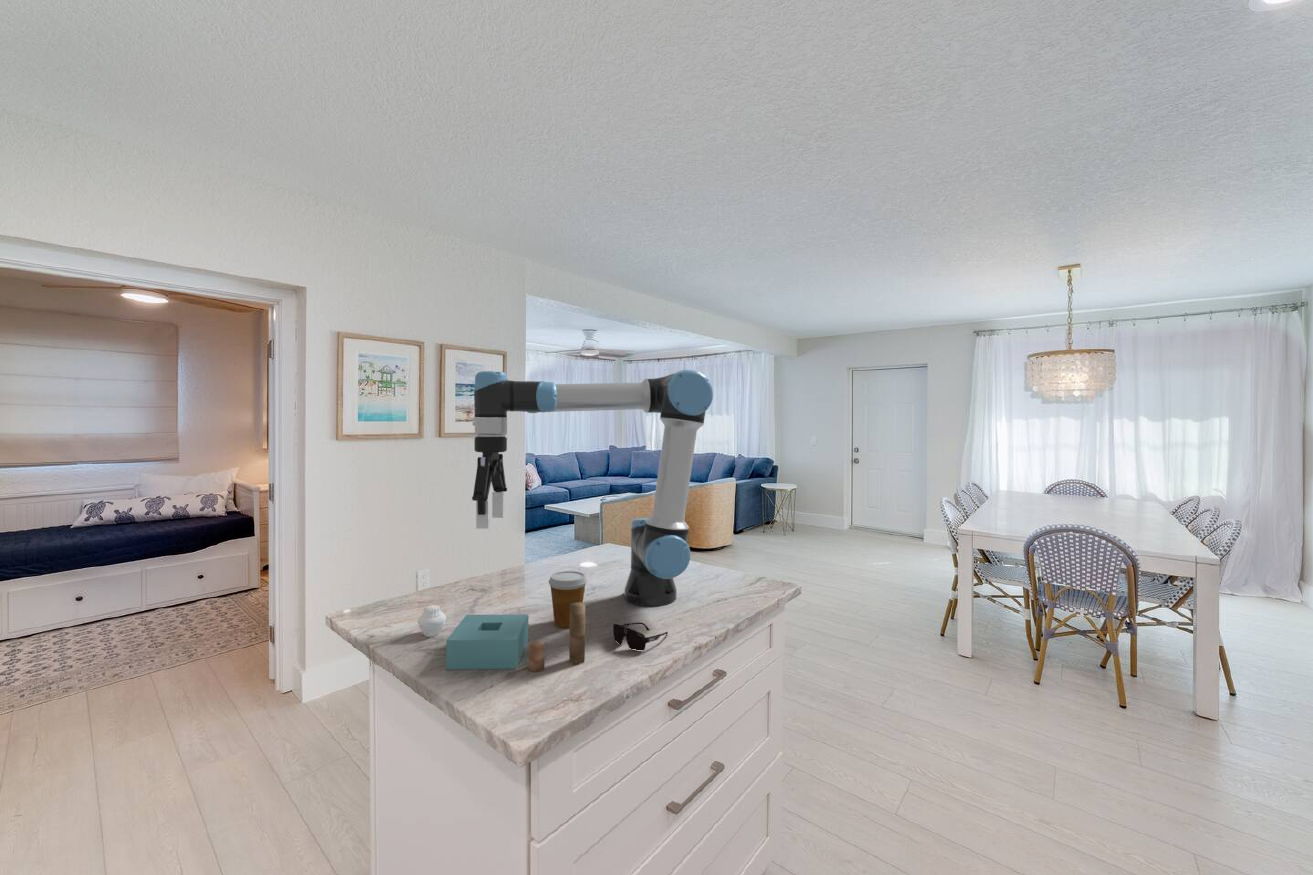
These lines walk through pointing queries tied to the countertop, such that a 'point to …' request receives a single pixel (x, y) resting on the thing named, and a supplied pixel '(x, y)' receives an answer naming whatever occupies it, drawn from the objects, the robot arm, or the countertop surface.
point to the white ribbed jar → (431, 621)
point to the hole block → (487, 642)
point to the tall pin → (577, 633)
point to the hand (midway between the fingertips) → (490, 522)
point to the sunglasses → (633, 636)
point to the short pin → (536, 656)
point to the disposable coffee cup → (566, 594)
